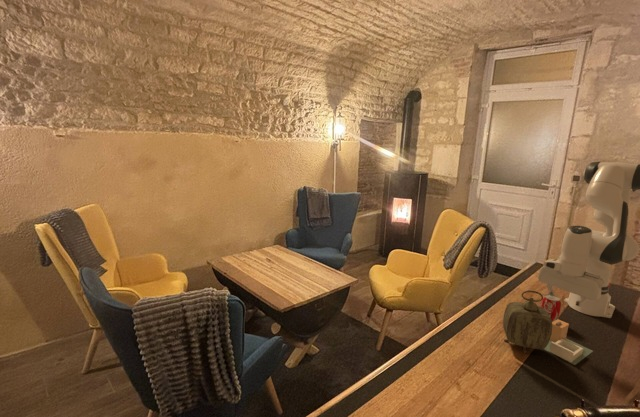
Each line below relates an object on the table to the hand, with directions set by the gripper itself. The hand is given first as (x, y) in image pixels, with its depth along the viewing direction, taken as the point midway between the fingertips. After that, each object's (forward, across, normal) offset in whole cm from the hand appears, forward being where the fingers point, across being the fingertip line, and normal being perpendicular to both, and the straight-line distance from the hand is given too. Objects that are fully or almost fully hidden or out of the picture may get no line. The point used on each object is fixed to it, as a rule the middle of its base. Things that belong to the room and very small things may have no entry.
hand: (564, 300), depth 130 cm
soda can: (+18, +9, -13) cm, 24 cm away
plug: (+17, 0, 0) cm, 17 cm away
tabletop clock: (+18, +4, +18) cm, 26 cm away
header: (+17, -6, +7) cm, 19 cm away
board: (+18, -1, +4) cm, 19 cm away
